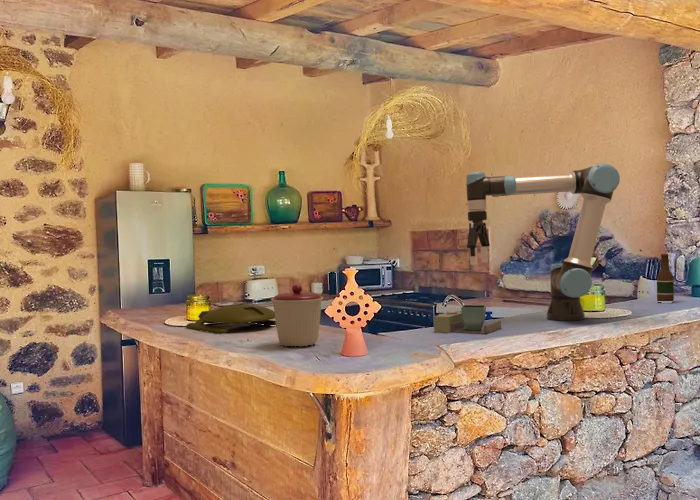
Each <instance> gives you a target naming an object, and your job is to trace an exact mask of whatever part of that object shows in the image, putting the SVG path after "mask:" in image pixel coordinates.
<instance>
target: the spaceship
mask: <svg viewBox="0 0 700 500" xmlns="http://www.w3.org/2000/svg"><path fill="white" fill-rule="evenodd" d="M197 317H198V318H199V319H197V320H196V321H195V322H189V323H187V324H186V325H185V327H186V328H187V329H189V328H190V330H195V329H196V330H195V331H200V330H202V331H201V332H206V331H208V332H207V333H211V332H213V333H212V334H217V333H226V334H228V333H230V330H229V329H228V328H227V327H222V326H215V325H212V324H224V323H225V324H226V323H227V324H228V323H229V324H236V323H237V324H238V323H244V322H251V323H257V324H256V325H258V324H264V325H263V326H265V325H276V320H274V319H275V313H274V309H271V308H268V307H264V306H260V305H253V304H251V305H250V304H234V305H233V304H232V305H227V306H223V307H222V306H221V307H218V308H215V309H212V310H204V311H202V310H201V312H200V313H199V314H198V316H197ZM251 323H250V324H251ZM209 324H211V325H209ZM227 332H228V333H227Z"/></svg>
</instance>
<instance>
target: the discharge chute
mask: <svg viewBox="0 0 700 500" xmlns="http://www.w3.org/2000/svg"><path fill="white" fill-rule="evenodd" d="M501 329H502V320H500V319H499V320H495V321H492V322H490V323H487V324H483V326H482V328H481V330H479V331H478V330H467V329H466V328H465V326H464V323H463V320H462V321H458V322H455V323H452V324H451V333H453V334H454V333H457V334H458V333H459V334H471V333H472V335H489V334H491V333H494V332H497V331H499V330H501Z"/></svg>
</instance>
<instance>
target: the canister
mask: <svg viewBox="0 0 700 500" xmlns="http://www.w3.org/2000/svg"><path fill="white" fill-rule="evenodd" d="M302 290H303V287H302V285H300V284H294V285H293V286H292V287H291V291H292V292H285V293H284V292H283V293H279V294H276V295H275V296H273V297H272V298H271V299H270V300H271V301H272V305H273V311H274V313H275V318H274V319H275V320H274V321H276V332H277V338H278V342H279V343H280V344H281V345H282V346H283V345H284V347H287V346H295V347H294V348H297V347H296V346H306V347H309V346H308V345H311V346H313V344H314V345H315V344H316V343H317V342H318V339H319V334H320V333H319V331H320V324H321V312H322V301H323V299H324V296H321V295H320V294H318V293H315V292H305V291H302Z"/></svg>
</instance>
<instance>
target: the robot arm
mask: <svg viewBox="0 0 700 500" xmlns="http://www.w3.org/2000/svg"><path fill="white" fill-rule="evenodd" d="M620 178H621V177H620V174H619V171H618V170H617V168H616V167H615V166H613V165H611V164H609V163H597V164H595V165H593V166H592V165H591V166H589V167H586V168H582V169H579V170H571V171H570V172H568V173H557V174H544V175H542V174H541V175H529V176H527V175H526V176H514V175H499V176H486V173H485V172H484V171H475V172H468V173H467V174H466V184H465V186H466V187H465V188H466V201H467V203H466V206H467V211H468V212H467V221H468V222H470V223H468V229H469V230H468V236H467V245H466V247H467V248H466V249H469V263H470V266H471V265H472V266H474V265H475V266H476V265H478V248H477V243H478V240H479V243H480V263H489V253H488V250H489V249H488V247H490V246H491V245H490V241H489V235H488V231H487V223H486V222H484V221H486V220H488V216H487V215H488V214H487V213H488V212H487V211H486V210H488V207H487V196H491V197H494V198H498V197H507V196H522V195H523V196H524V195H535V194H537V195H538V194H553V193H555V194H556V193H568V192H569V193H571V194H572V195H575V194H580V195H581V197H582V198H583V201H582V205H581V209H580V212H579V216H578V221H577V224H576V227H575V231H574V234H573V235H574V236H573V239H572V243H571V245H570V248H569V249H570V250H569V253H568V257H566V258H564V259H563V261H562V263H554V264H552V265H550V270H549V275H550V276H549V278H550V302H549V305H548V309H547V311H546V319H548V320H551V321H552V320H553V321H560V322H561V321H563V322H565V321H569V322H570V321H571V322H572V321H574V322H575V321H582V319H583V320H584V319H585V312H584V308H583V306H582V302H581V299H580V298H581V297H584V296H585V295H586V294H587V295H588V293H589V292H590V290H591V288H592V286H593V285H592V283H593V279H592V274H593V273H592V272H593V270H594V267H593V265H592V263H591V261H592V257H593V254H594V249H595V245H596V241H597V238H598V235H599V232H600V231H599V230H600V228H601V224H602V220H603V216H604V213H605V209H606V205H607V204H608V203H610V202H611V201H612V200H613V199H612V197H613V194H614V191H615V190H616V189H617V187H618V186H619V184H620V182H621V181H620Z"/></svg>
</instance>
